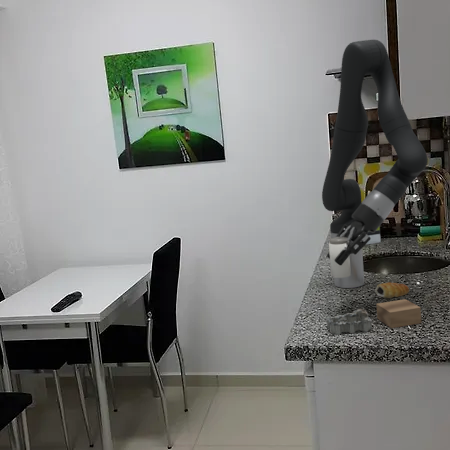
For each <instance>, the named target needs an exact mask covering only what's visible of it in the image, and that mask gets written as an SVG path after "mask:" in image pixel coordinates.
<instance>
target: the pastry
mask: <svg viewBox="0 0 450 450" xmlns="http://www.w3.org/2000/svg"><path fill="white" fill-rule="evenodd" d="M374 292H375V294H376V295H377V296H378V297H381V298H384V299H393V298H394V297H395V298H398V297H402V296H405V295H408V293H410V288H409V286H407V285H406V284H404V283H398V282H391V281H389V282H384V283H380V284H377V285H376V288H375V291H374Z"/></svg>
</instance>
